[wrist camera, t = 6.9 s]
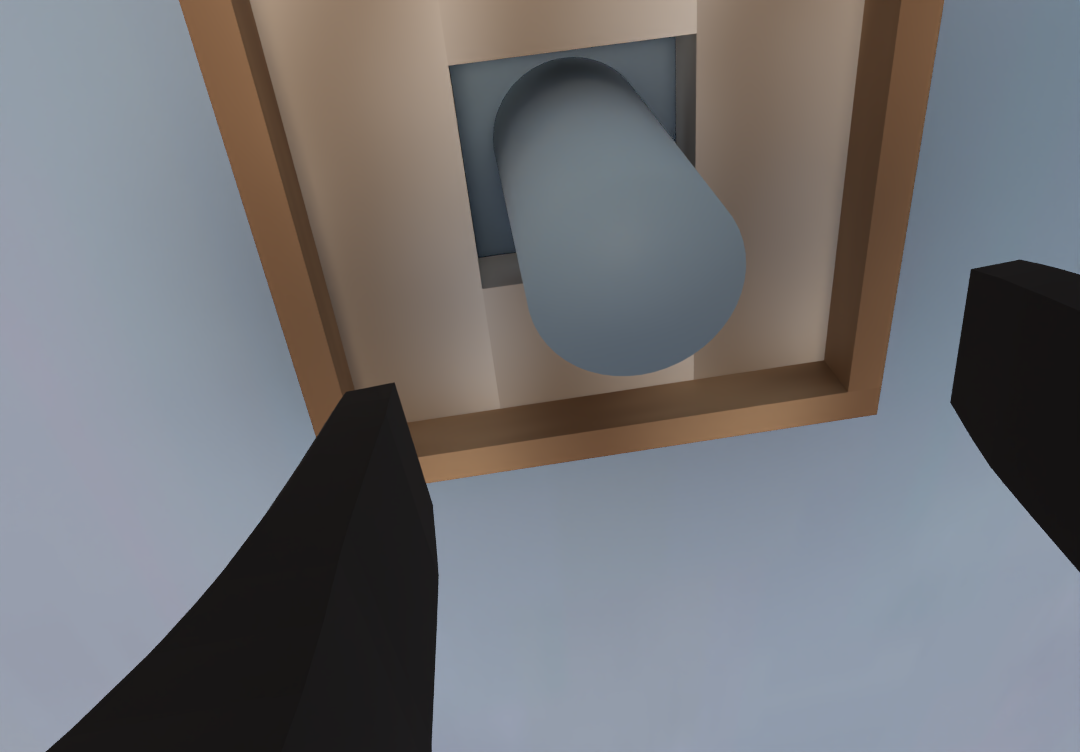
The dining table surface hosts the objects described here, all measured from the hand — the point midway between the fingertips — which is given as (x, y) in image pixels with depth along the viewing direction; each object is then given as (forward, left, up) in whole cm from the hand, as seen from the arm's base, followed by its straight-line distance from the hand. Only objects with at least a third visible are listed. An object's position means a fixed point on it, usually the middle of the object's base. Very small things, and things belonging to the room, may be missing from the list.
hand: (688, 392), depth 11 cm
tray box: (0, 0, -10) cm, 10 cm away
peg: (0, 0, -10) cm, 10 cm away
